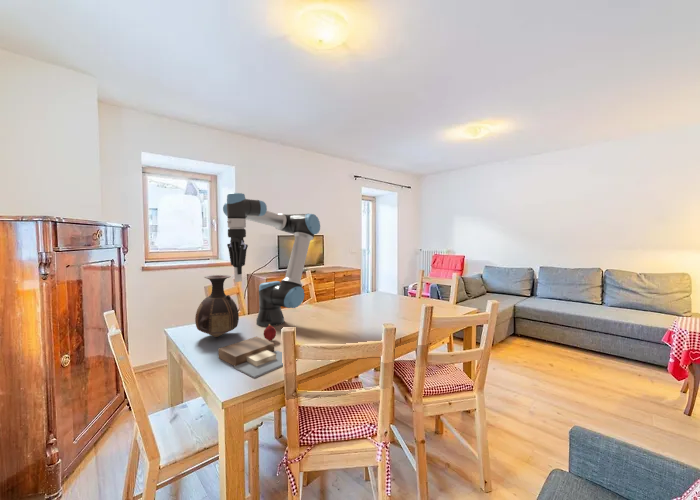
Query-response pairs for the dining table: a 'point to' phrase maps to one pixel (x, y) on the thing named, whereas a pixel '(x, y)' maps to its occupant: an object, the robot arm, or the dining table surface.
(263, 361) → the tile
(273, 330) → the onion
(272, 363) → the mat
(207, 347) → the dining table surface
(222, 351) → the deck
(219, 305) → the vase
